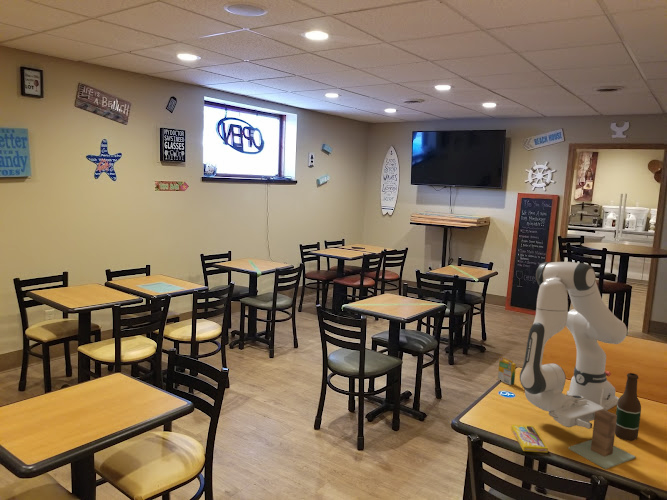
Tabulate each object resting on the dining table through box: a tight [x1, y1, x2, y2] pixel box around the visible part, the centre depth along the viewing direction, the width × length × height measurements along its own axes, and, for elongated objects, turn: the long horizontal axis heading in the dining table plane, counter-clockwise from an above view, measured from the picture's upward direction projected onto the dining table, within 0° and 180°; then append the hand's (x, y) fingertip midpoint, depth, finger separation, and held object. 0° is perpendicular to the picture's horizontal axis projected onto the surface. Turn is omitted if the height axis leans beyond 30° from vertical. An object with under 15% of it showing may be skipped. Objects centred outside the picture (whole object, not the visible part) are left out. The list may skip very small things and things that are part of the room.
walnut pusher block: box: [591, 409, 617, 457], centre depth 174 cm, size 4×5×14 cm
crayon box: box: [497, 356, 517, 386], centre depth 235 cm, size 7×3×12 cm, turn 34°
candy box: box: [510, 424, 549, 454], centre depth 182 cm, size 16×2×8 cm
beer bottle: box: [615, 372, 642, 442], centre depth 186 cm, size 8×8×24 cm
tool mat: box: [568, 439, 636, 470], centre depth 175 cm, size 16×14×1 cm
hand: (599, 423), depth 176 cm, fingers open, 8 cm apart
